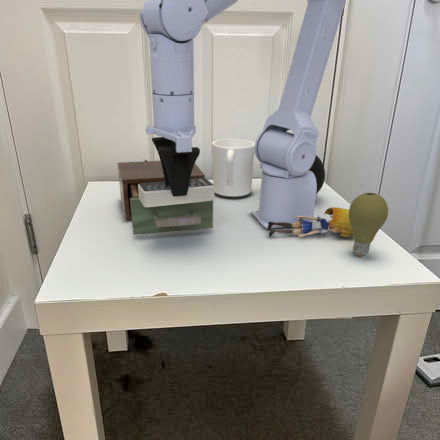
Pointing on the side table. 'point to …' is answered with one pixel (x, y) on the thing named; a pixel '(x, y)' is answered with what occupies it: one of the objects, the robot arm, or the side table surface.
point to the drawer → (168, 215)
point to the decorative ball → (318, 172)
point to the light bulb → (366, 220)
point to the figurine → (318, 224)
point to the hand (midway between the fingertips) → (176, 190)
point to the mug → (232, 167)
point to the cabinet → (142, 178)
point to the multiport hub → (162, 196)
